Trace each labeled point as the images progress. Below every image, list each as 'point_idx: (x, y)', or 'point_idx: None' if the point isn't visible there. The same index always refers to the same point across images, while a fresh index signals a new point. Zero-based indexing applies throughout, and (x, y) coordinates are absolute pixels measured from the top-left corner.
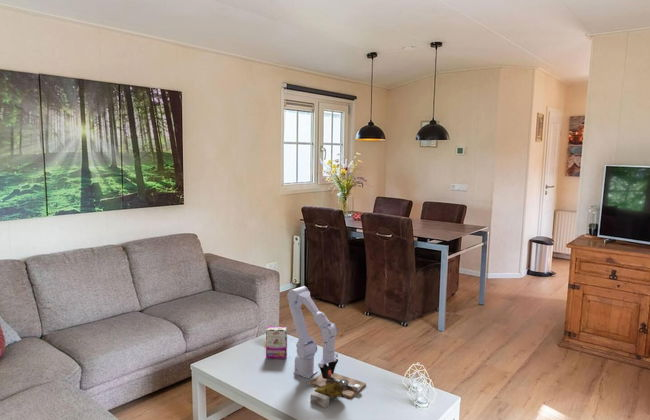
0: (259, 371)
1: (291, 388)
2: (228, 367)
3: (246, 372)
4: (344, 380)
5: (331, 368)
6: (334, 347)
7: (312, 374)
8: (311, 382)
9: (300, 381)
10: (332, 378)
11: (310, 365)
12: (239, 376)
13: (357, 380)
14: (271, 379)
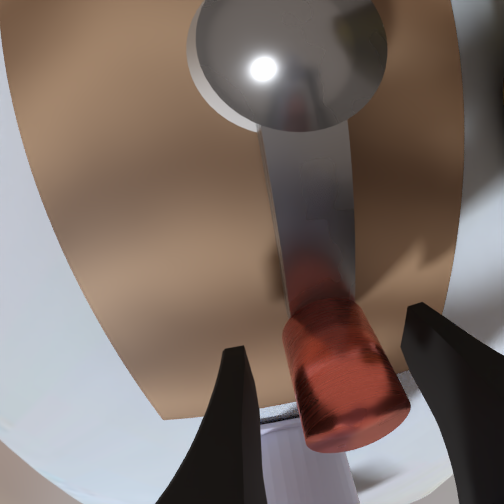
0: (395, 477)
1: None
2: (408, 492)
3: (418, 476)
4: (256, 55)
5: (252, 433)
6: None
7: (290, 425)
8: None
9: None
10: (310, 278)
11: (326, 494)
12: (447, 462)
13: (5, 51)
14: (437, 438)
